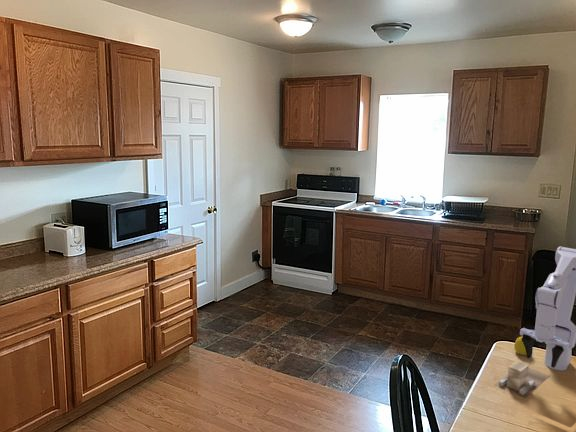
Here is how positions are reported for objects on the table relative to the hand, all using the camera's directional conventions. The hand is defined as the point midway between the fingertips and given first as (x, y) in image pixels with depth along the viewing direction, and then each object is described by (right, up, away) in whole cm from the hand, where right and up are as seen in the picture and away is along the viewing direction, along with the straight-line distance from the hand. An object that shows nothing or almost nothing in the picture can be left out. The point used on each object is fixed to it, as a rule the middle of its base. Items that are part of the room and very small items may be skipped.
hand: (541, 361), depth 157 cm
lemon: (+5, -5, +24) cm, 25 cm away
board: (-4, -9, +5) cm, 11 cm away
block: (-7, -8, +2) cm, 11 cm away
